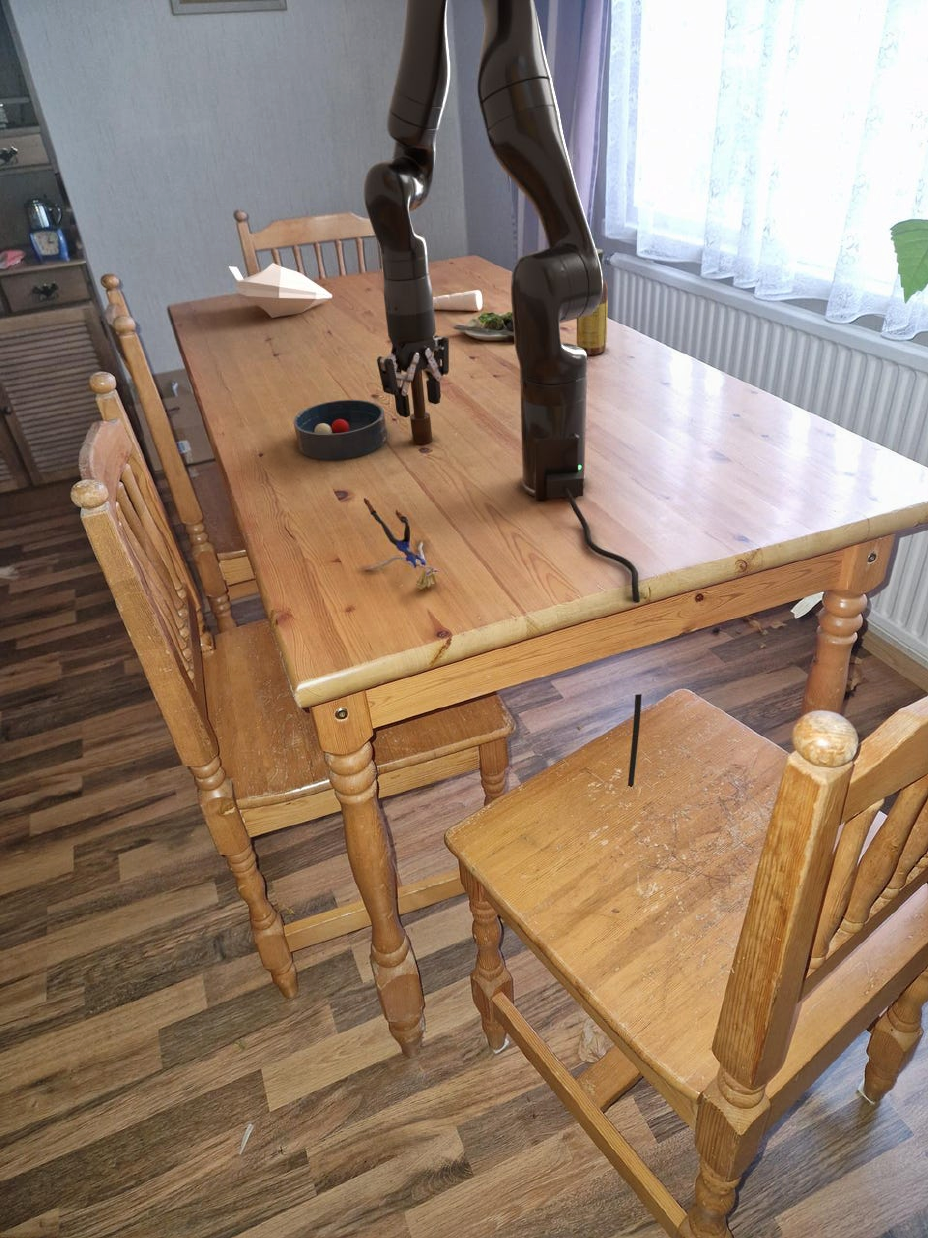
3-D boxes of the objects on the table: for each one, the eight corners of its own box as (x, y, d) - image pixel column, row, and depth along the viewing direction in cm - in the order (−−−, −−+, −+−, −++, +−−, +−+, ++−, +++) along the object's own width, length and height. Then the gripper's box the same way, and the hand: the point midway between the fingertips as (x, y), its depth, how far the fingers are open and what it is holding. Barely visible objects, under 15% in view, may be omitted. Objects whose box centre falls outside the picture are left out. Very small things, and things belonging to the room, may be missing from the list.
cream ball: (321, 447, 139) (330, 437, 137) (308, 434, 138) (317, 424, 136) (328, 439, 141) (338, 429, 139) (316, 427, 141) (325, 416, 139)
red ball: (350, 423, 142) (349, 439, 141) (333, 422, 142) (332, 439, 141) (348, 416, 139) (347, 432, 138) (331, 415, 139) (330, 432, 138)
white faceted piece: (348, 304, 213) (341, 253, 205) (284, 330, 197) (273, 276, 190) (280, 295, 225) (271, 247, 217) (214, 319, 209) (202, 268, 202)
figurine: (411, 648, 103) (351, 545, 114) (469, 613, 103) (404, 513, 114) (385, 608, 94) (322, 501, 105) (448, 569, 95) (379, 467, 105)
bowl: (384, 456, 134) (381, 431, 132) (292, 463, 134) (287, 437, 132) (389, 420, 147) (386, 396, 144) (304, 426, 147) (300, 402, 144)
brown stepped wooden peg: (432, 444, 137) (424, 362, 129) (412, 445, 137) (403, 363, 129) (432, 436, 140) (425, 355, 132) (412, 437, 140) (404, 356, 132)
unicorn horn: (398, 303, 210) (396, 284, 207) (484, 308, 202) (483, 288, 199) (390, 309, 206) (388, 289, 203) (477, 313, 198) (476, 293, 195)
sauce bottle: (586, 344, 174) (589, 245, 162) (612, 349, 170) (616, 247, 159) (569, 353, 170) (571, 252, 158) (595, 358, 166) (598, 255, 155)
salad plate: (448, 345, 179) (447, 324, 177) (459, 321, 193) (458, 301, 191) (536, 343, 177) (536, 322, 174) (540, 319, 191) (540, 299, 188)
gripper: (391, 321, 119) (403, 428, 129) (458, 297, 127) (465, 400, 137) (358, 313, 123) (372, 418, 133) (425, 291, 131) (434, 391, 141)
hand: (419, 408), depth 135 cm, fingers open, 6 cm apart
